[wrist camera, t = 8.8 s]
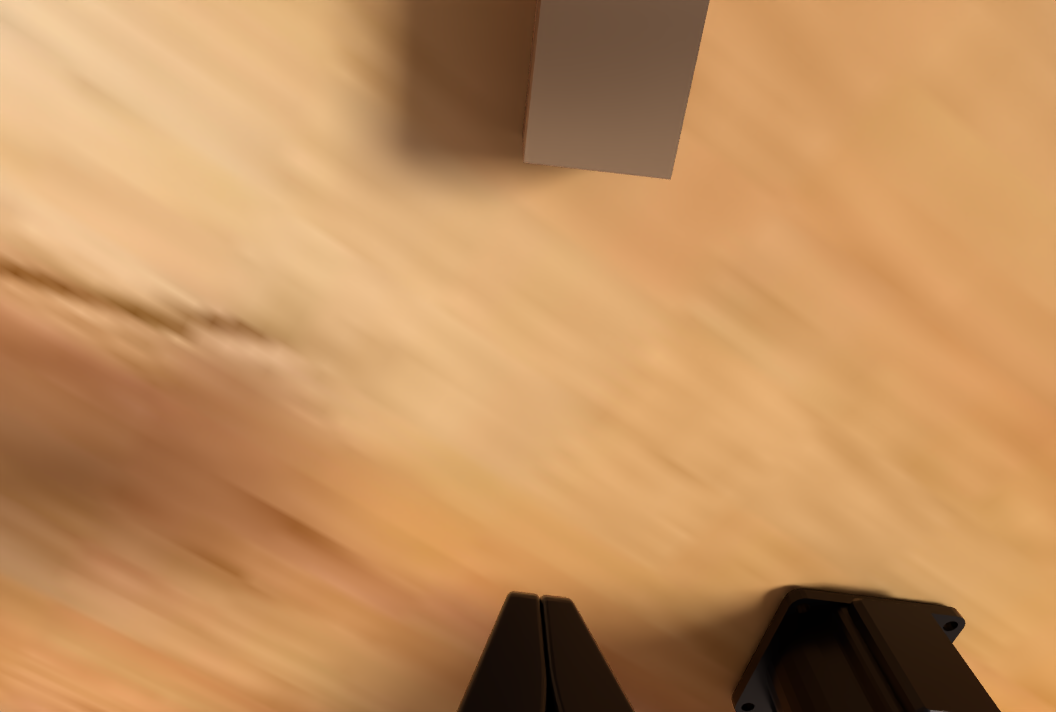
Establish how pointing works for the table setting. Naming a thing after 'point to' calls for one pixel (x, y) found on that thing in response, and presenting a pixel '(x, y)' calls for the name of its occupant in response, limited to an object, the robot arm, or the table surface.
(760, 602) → the table surface
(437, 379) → the table surface
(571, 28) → the brown wooden bar
